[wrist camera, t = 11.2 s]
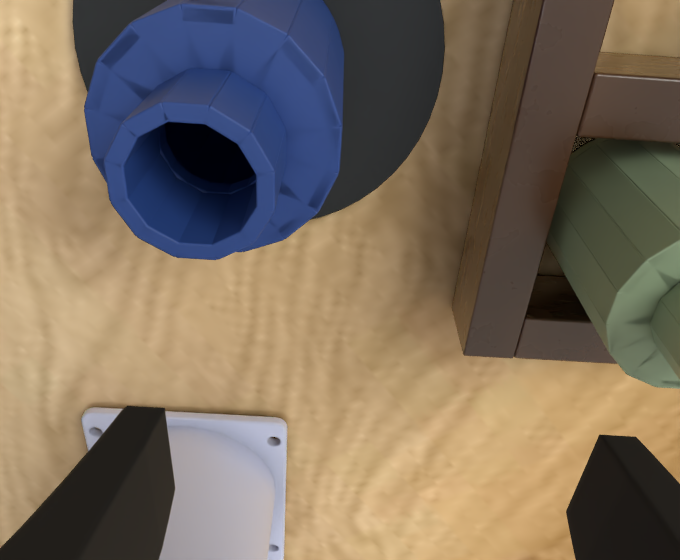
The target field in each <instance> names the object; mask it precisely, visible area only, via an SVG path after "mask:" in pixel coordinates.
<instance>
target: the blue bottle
mask: <svg viewBox="0 0 680 560" xmlns="http://www.w3.org/2000/svg"><path fill="white" fill-rule="evenodd" d="M343 80H344V49H343V46H342V41H341V37H340V33H339V30H338V27H337V25H336V22H335V20H334V18H333V16H332V14H331V12H330V10H329V8H328V7H327V6H326V4H325V3H324V1H323V0H167V1H165V2H164V3H162V4H160V5H159V6H157V7H155V8H154V9H152V10H150V11H149V12H147V13H145V14H144V15H142V16H140V17H139V18H137V19H136V20H134V21H132V22H131V23H129V24H128V25H127V27H126V28H125V29H124V30H123V31H122V32H121V33H120V34H119V36H118V37H117V38H116V39H115V40H114V41H113V42H112V43H111V45H110V46H109V47H108V48H107V49H106V50H105V51H104V52H103V54H102V55H101V56H100V57H99V58H98V61H97V62H96V64H95V68H94V72H93V76H92V79H91V83H90V87H89V91H88V94H87V98H86V102H85V106H84V108H85V109H84V112H85V118H86V124H87V131H88V137H89V143H90V149H91V155H92V157H93V160H94V162H95V164H96V165H97V167H98V169H99V170H100V172H101V174H102V176H103V177H104V179H105V181H106V182H107V186H108V193H109V199H110V201H111V204H112V205H113V207H114V208H115V209H116V211H117V212H118V213H119V215H120V216H121V217H122V219H123V220H124V221H125V223H126V224H127V225H128V226H129V228H130V229H131V230H132V232H133V233H134V234H135V235H136V236H137V237H138V238H139V239H141V240H143V241H145V242H147V243H149V244H151V245H153V246H154V247H156V248H158V249H160V250H162V251H164V252H166V253H168V254H170V255H171V256H173V257H175V256H176V257H177V258H191V259H207V260H216V259H221V258H223V257H225V256H227V255H230V254H232V253H234V252H242V251H243V252H245V251H249V250H252V249H255V248H259V247H262V246H265V245H269V244H272V243H275V242H279V241H282V240H284V239H286V238H287V237H289V236H290V235H291V234H292V233H294V232H295V231H296V230H297V229H299V228H300V227H301V226H302V225H304V224H305V223H306V222H307V221H309V220H310V219H311V218H312V217H314V216H315V215H316V214H317V213H318V212H319V211H320V209H321V207H322V205H323V203H324V201H325V199H326V197H327V196H328V194H329V192H330V190H331V188H332V186H333V184H334V182H335V180H336V178H337V177H338V173H339V170H340V156H341V141H342V125H343Z"/></svg>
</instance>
